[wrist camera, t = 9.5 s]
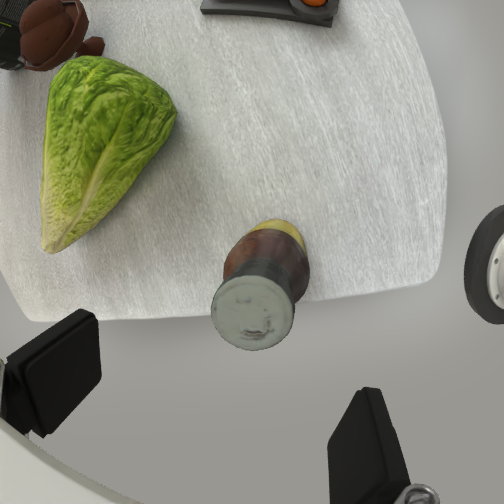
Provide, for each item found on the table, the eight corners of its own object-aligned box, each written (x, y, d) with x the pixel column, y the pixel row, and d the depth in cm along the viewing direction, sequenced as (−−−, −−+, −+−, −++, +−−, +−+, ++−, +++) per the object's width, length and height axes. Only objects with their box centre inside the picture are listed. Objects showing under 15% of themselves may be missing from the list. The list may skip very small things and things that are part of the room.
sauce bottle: (288, 281, 34) (273, 396, 15) (239, 256, 34) (169, 344, 15) (315, 230, 32) (341, 298, 13) (264, 204, 32) (216, 234, 13)
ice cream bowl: (65, 42, 30) (2, 15, 16) (121, 11, 28) (61, -33, 14) (62, 95, 33) (-12, 78, 18) (121, 66, 31) (46, 28, 16)
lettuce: (117, 270, 38) (60, 209, 39) (208, 109, 30) (128, 64, 31) (38, 307, 25) (-15, 224, 26) (127, 72, 16) (48, 34, 17)
